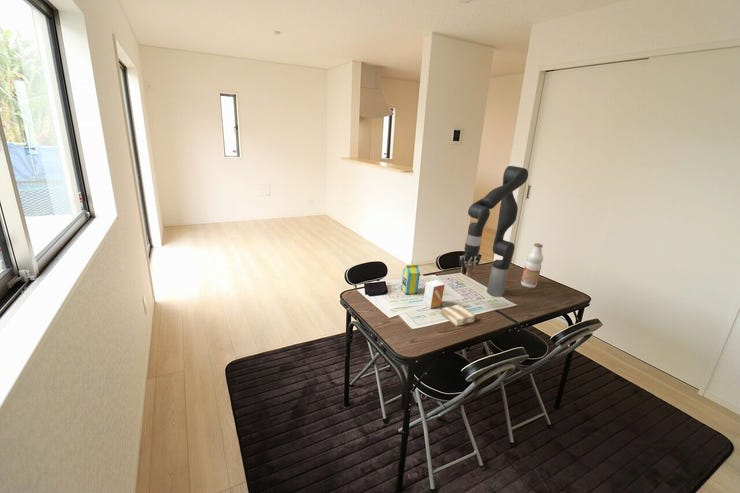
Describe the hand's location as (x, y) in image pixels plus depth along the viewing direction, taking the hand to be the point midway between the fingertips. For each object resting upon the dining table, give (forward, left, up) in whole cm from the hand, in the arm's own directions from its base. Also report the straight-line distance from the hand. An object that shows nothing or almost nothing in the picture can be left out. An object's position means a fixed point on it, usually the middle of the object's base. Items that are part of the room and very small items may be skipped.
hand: (467, 273), depth 186 cm
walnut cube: (0, 0, -1) cm, 1 cm away
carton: (+19, -24, -20) cm, 36 cm away
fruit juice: (-62, -5, -20) cm, 66 cm away
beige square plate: (+12, +10, -20) cm, 25 cm away
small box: (+16, -6, -20) cm, 26 cm away
